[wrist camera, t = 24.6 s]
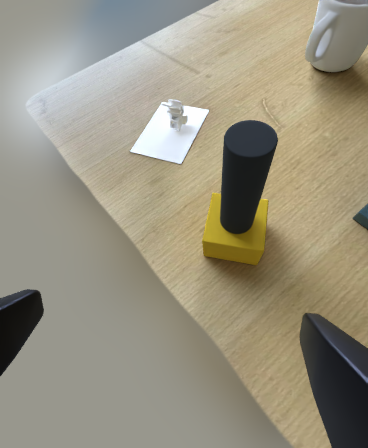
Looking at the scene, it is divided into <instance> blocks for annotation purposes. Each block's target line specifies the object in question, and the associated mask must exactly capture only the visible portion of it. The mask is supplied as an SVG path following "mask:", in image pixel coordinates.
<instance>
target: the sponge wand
mask: <svg viewBox="0 0 368 448" xmlns="http://www.w3.org/2000/svg"><path fill="white" fill-rule="evenodd" d="M277 142H278V138H277V134H276V132H275V130H274V129H273V128H272V127H271V126H269V125H268V124H266V123H263V122H260V121H255V120H246V121H241V122H238V123H236V124H234V125H232V126H231V127H230V128H229V129H228V130H227V131H226V133H225V136H224V147H223V167H222V187H221V194H218V193H213V194H212V198H211V202H210V207H209V212H208V216H207V221H206V226H205V230H204V235H203V240H202V243H203V254H204V256H207V257H213V258H219V259H224V260H230V261H235V262H241V263H246V264H252V265H257V264H258V262H259V260H260V258H261V256H262V254H263V252H264V246H265V235H266V223H267V212H268V200H265V199H261V195H262V192H263V189H264V185H265V182H266V179H267V176H268V172H269V169H270V166H271V162H272V159H273V156H274V153H275V149H276V146H277Z"/></svg>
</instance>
